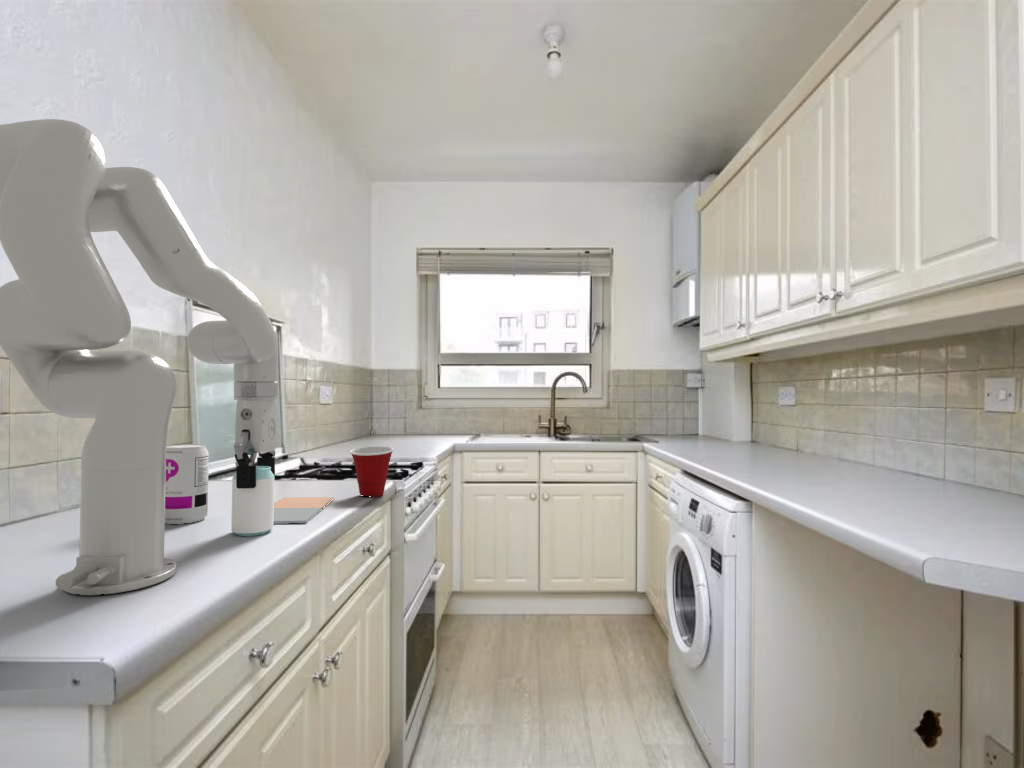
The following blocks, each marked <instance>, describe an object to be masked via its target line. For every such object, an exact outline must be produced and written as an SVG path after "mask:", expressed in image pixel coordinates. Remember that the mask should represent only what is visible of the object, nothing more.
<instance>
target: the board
mask: <svg viewBox="0 0 1024 768" xmlns="http://www.w3.org/2000/svg"><path fill="white" fill-rule="evenodd" d="M332 499H334V500H335V496H327V497H326V496H325V497H322V496H317V497H314V496H312V497H311V496H310V497H306V496H305V497H282V498H281V499H278V500H277V501H274V522H273V525H289V524H290V523H306V524H308V523H309V522H310V521H311V520H312V519H313V518H315V517H316V516H317V515H318V514H319V513H320V512H321V511H320V510H321V509H322V508H323V507H324V506H326V505H327V504H328V503H329V502H330V501H331V500H332ZM327 506H328V505H327ZM327 506H326V507H327ZM319 511H320V512H319ZM318 512H319V513H318ZM317 513H318V514H317ZM316 514H317V515H316ZM315 515H316V516H315ZM314 516H315V517H314ZM312 517H313V518H312ZM311 518H312V519H311ZM310 519H311V520H310ZM309 520H310V521H309ZM308 521H309V522H308ZM307 522H308V523H307ZM288 523H289V524H288ZM290 525H291V524H290Z"/></svg>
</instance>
